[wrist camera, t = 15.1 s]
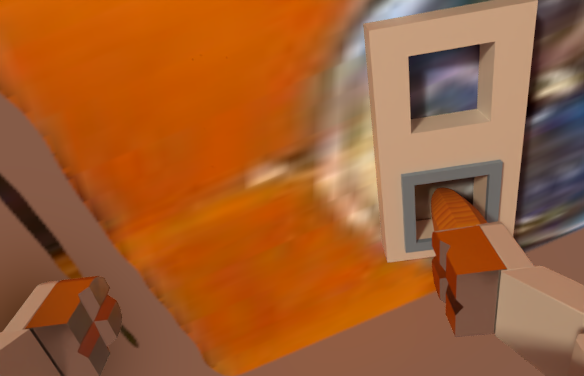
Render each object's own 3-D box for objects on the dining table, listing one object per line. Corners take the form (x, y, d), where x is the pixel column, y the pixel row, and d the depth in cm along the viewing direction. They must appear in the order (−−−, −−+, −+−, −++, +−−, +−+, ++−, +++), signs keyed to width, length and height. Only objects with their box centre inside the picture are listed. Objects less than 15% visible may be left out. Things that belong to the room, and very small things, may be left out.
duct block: (518, -5, 39) (541, 1, 35) (499, 228, 52) (514, 249, 48) (363, 23, 40) (369, 32, 36) (382, 243, 53) (388, 265, 49)
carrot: (450, 212, 50) (502, 305, 37) (410, 203, 50) (448, 295, 37) (468, 175, 48) (530, 261, 35) (425, 166, 47) (472, 250, 34)
